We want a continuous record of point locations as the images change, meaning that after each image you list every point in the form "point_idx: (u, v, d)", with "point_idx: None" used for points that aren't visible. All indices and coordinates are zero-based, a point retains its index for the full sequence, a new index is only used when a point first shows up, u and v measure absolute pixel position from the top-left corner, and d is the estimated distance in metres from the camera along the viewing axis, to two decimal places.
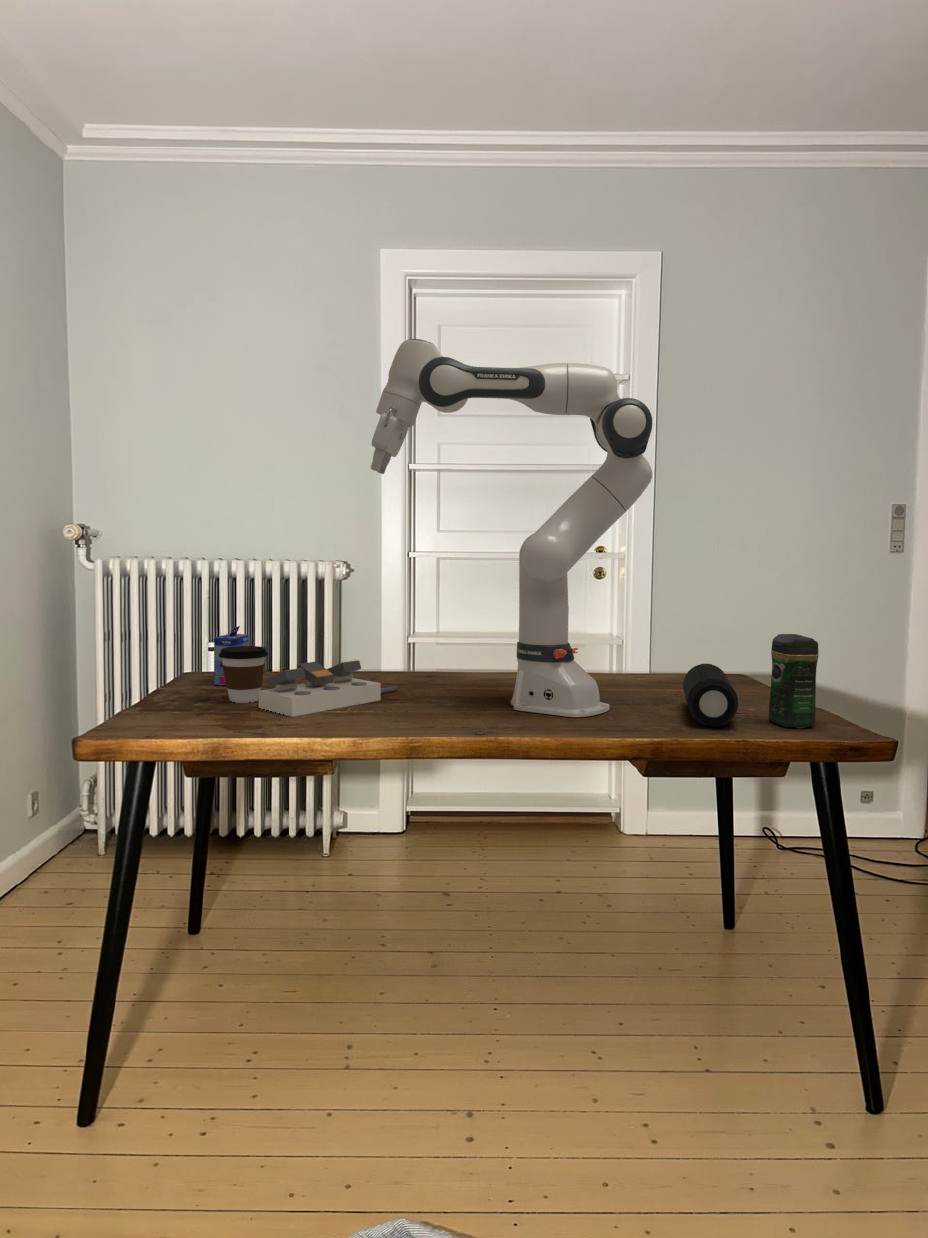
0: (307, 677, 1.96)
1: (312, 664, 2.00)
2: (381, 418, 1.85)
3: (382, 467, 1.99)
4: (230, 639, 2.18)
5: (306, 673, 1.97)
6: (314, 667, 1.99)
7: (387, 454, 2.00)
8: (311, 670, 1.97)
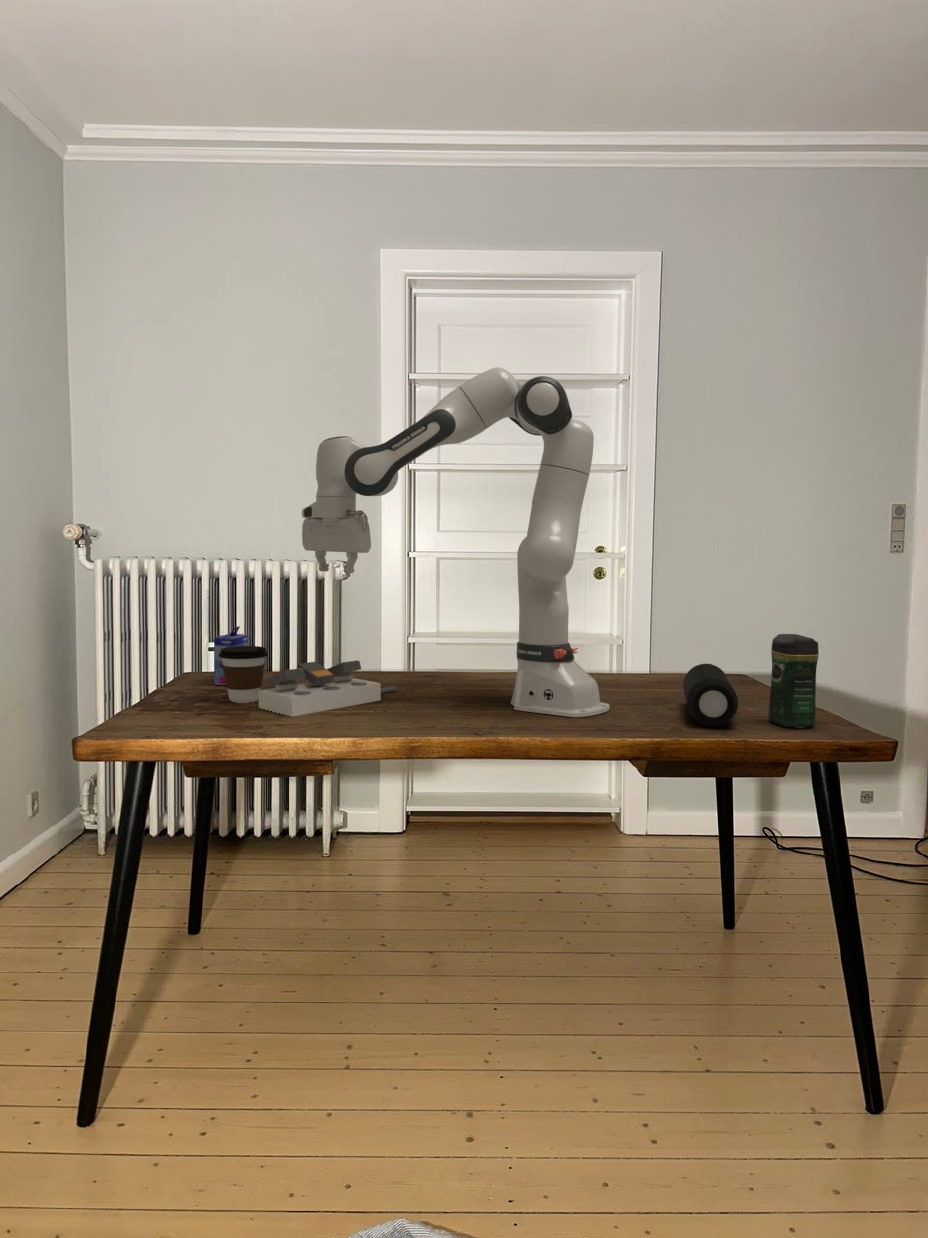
0: (307, 677, 1.96)
1: (312, 664, 2.00)
2: (358, 525, 1.90)
3: (326, 565, 2.01)
4: (230, 639, 2.18)
5: (306, 673, 1.97)
6: (314, 667, 1.99)
7: (322, 551, 2.01)
8: (311, 670, 1.97)
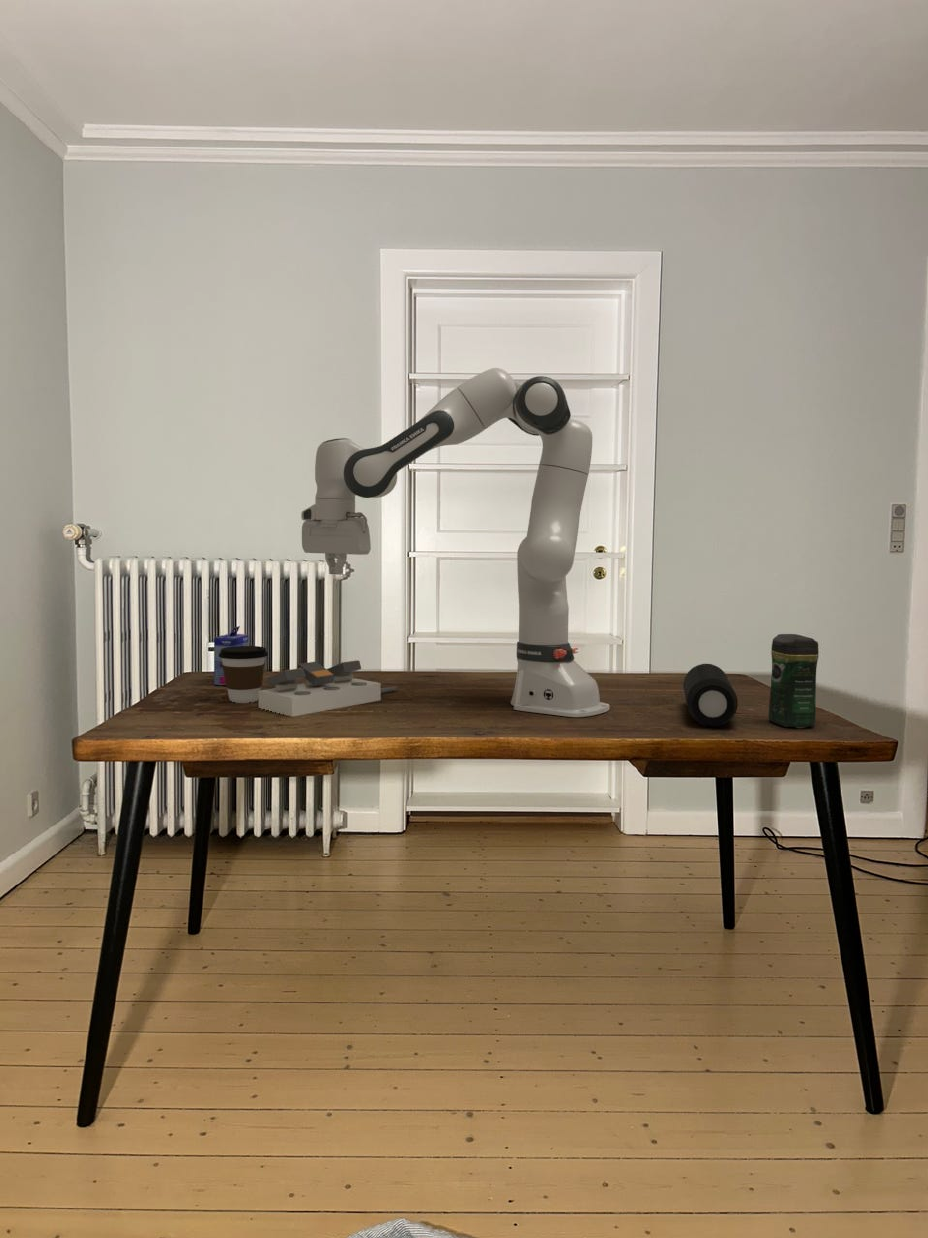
0: (307, 677, 1.96)
1: (312, 664, 2.00)
2: (358, 526, 1.90)
3: None
4: (230, 639, 2.18)
5: (306, 673, 1.97)
6: (314, 667, 1.99)
7: None
8: (311, 670, 1.97)
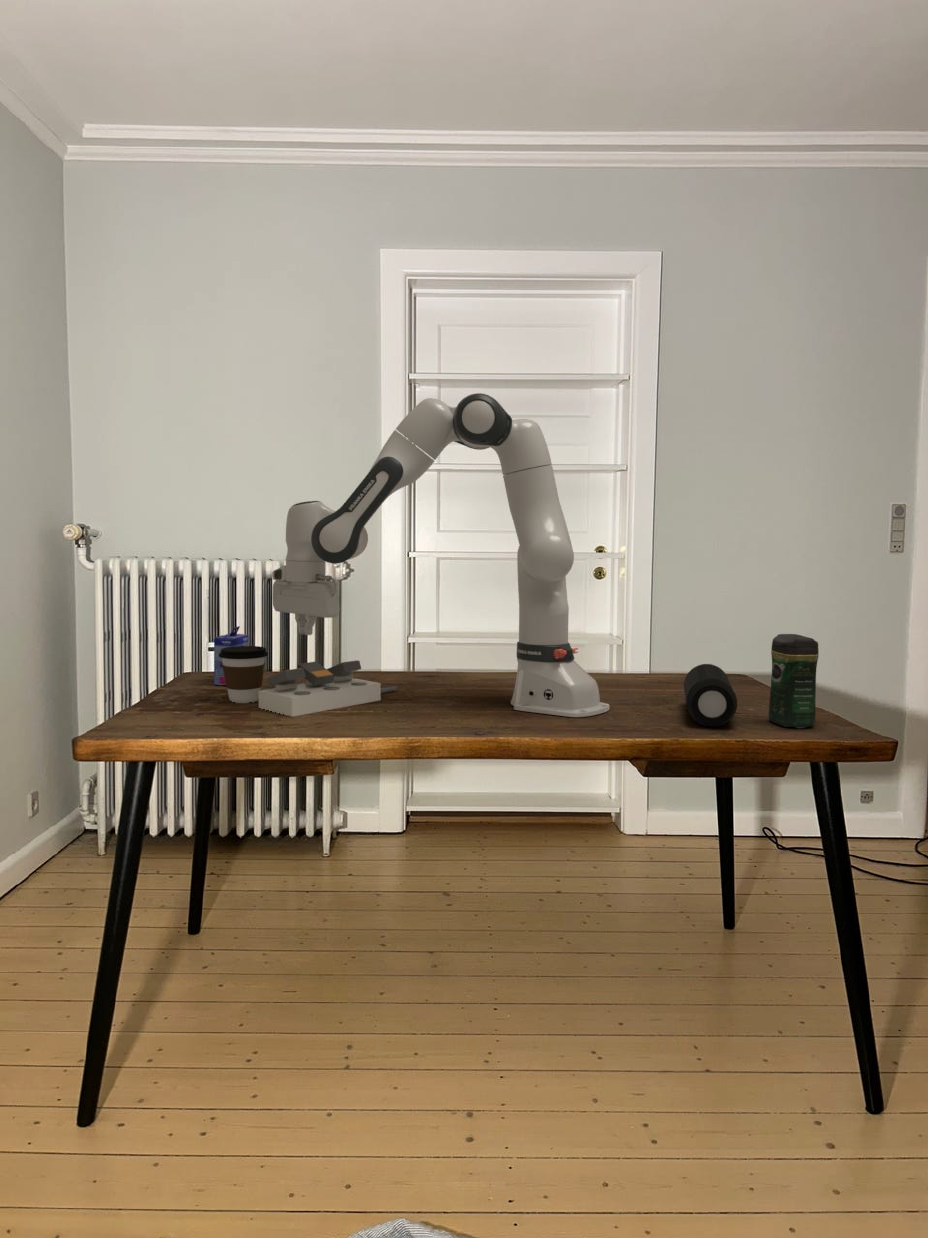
0: (307, 677, 1.96)
1: (312, 664, 2.00)
2: (327, 590, 1.91)
3: None
4: (230, 639, 2.18)
5: (306, 673, 1.97)
6: (314, 667, 1.99)
7: None
8: (311, 670, 1.97)
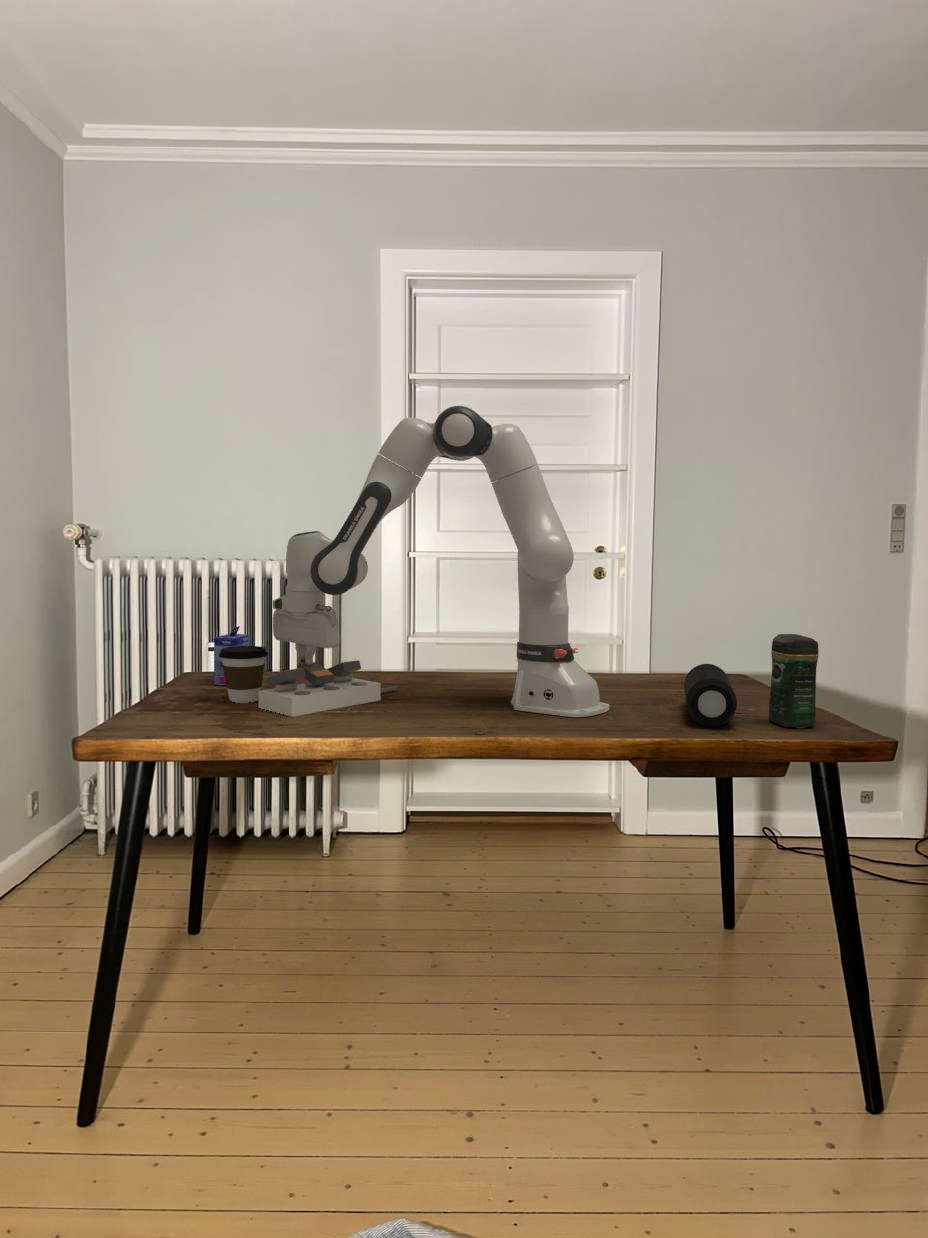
0: (307, 677, 1.96)
1: (311, 665, 2.00)
2: (327, 621, 1.92)
3: None
4: (230, 639, 2.18)
5: (306, 673, 1.97)
6: (314, 667, 1.99)
7: None
8: (311, 670, 1.97)
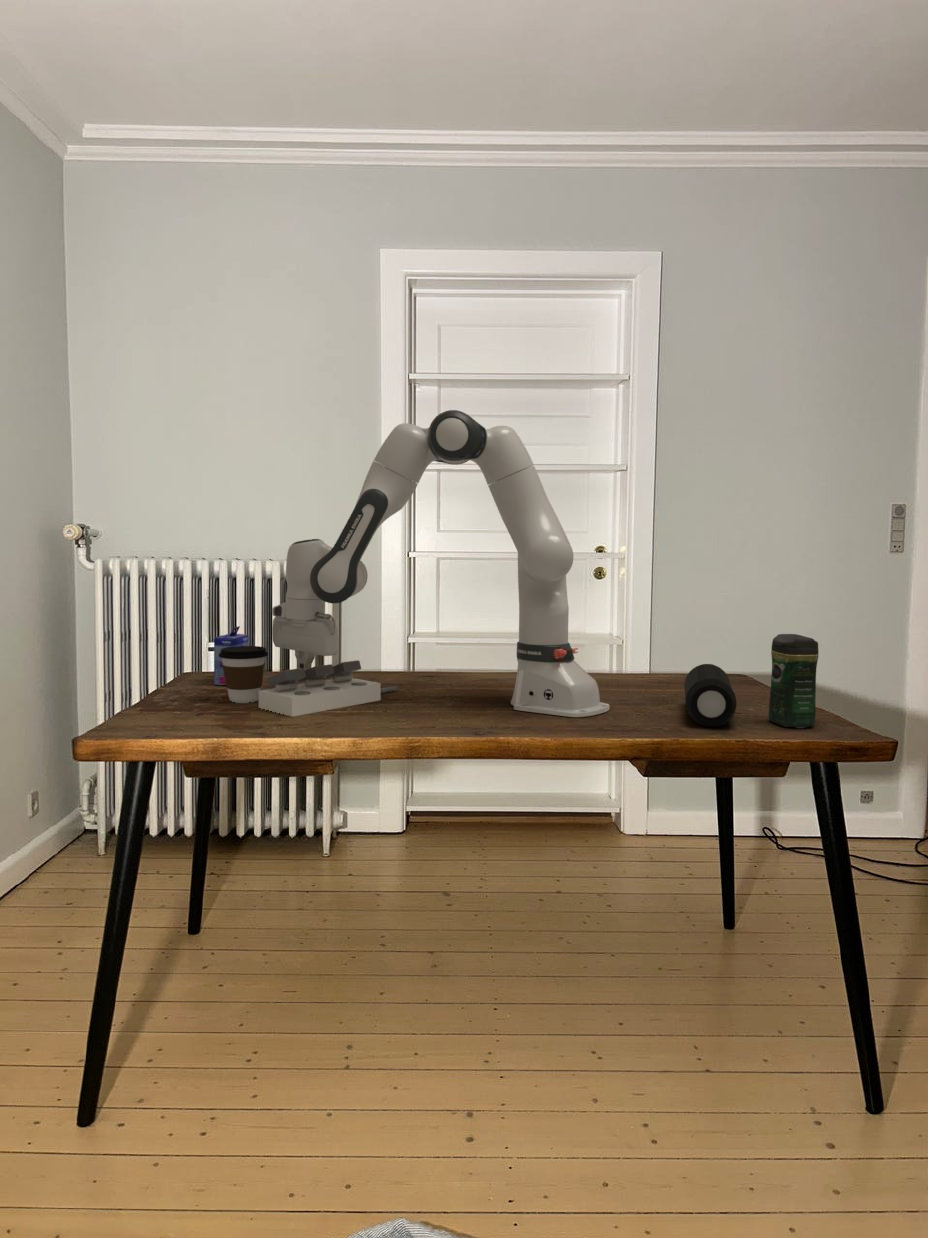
0: (308, 676, 1.96)
1: None
2: (326, 629, 1.93)
3: None
4: (230, 639, 2.18)
5: (306, 673, 1.97)
6: None
7: None
8: None
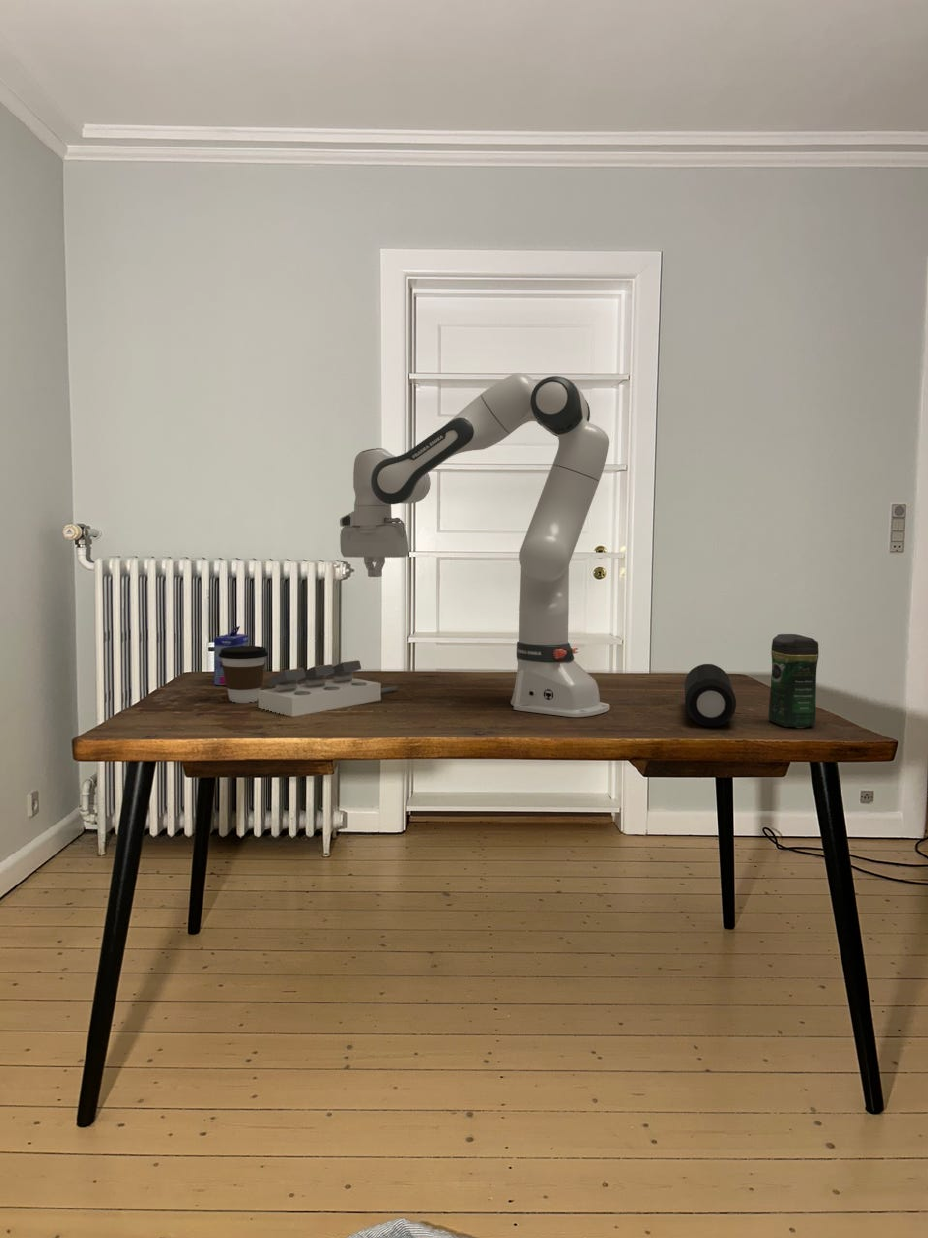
0: (308, 676, 1.96)
1: None
2: (396, 531, 2.02)
3: None
4: (230, 639, 2.18)
5: (306, 673, 1.97)
6: None
7: None
8: None
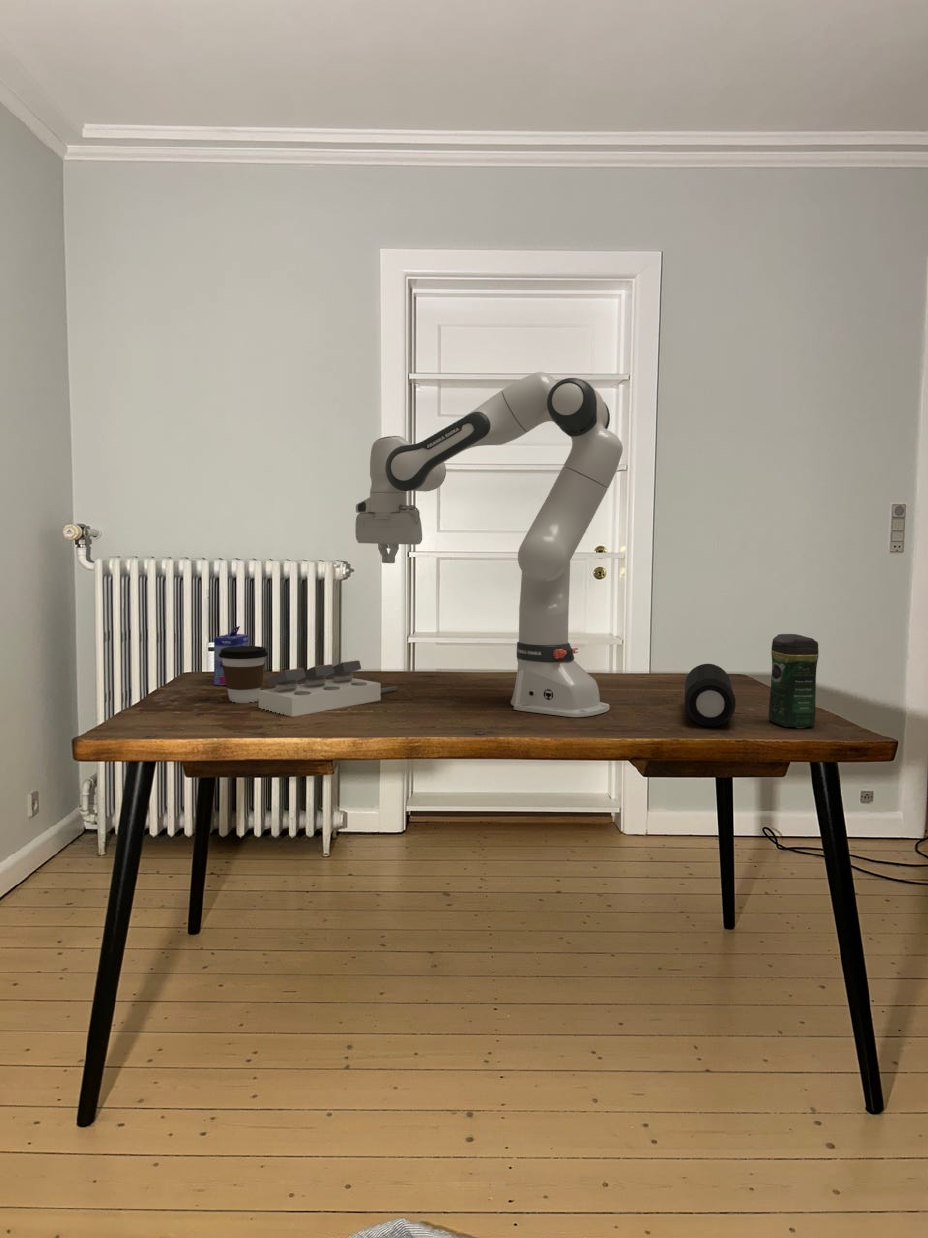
0: (308, 676, 1.96)
1: None
2: (411, 518, 2.04)
3: None
4: (230, 639, 2.18)
5: (306, 673, 1.97)
6: None
7: None
8: None
